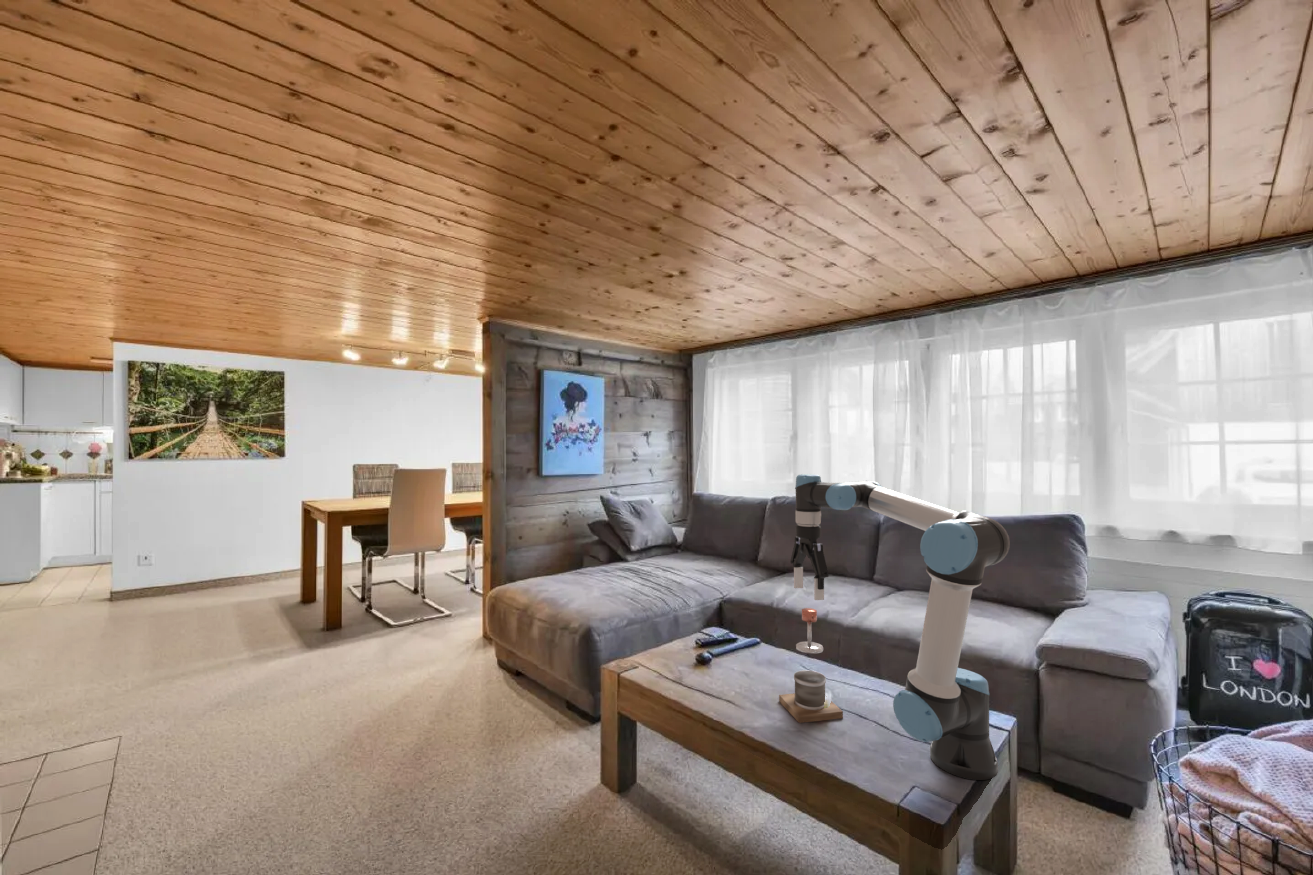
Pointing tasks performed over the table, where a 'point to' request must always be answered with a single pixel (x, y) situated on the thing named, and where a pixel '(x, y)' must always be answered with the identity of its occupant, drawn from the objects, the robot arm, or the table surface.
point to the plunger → (809, 633)
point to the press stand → (809, 699)
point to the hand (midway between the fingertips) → (808, 593)
